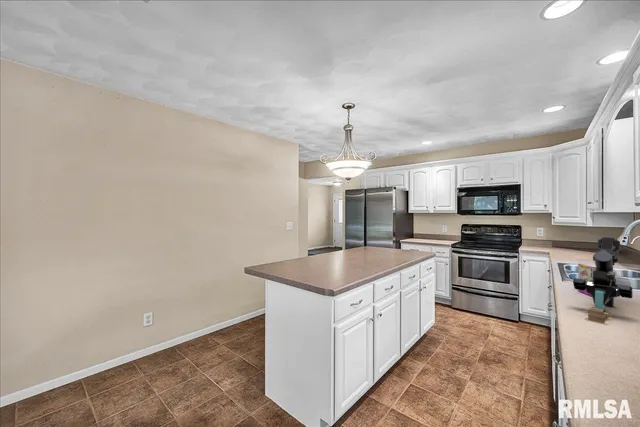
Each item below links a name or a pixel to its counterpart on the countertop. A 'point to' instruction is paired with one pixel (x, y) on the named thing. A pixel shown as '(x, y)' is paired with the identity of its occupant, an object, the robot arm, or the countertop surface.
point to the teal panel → (599, 299)
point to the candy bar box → (586, 274)
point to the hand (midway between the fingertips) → (599, 303)
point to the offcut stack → (596, 315)
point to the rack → (606, 312)
